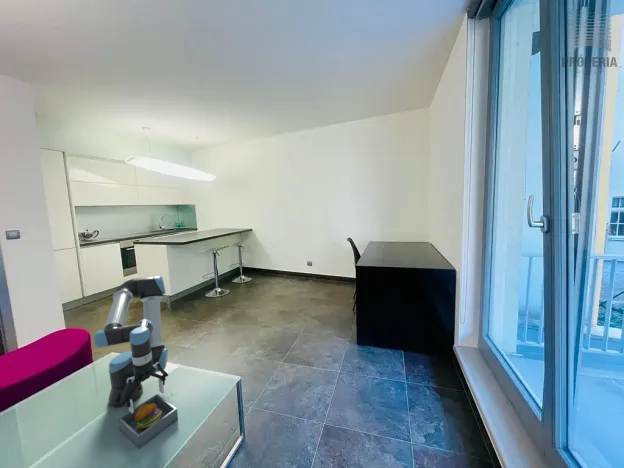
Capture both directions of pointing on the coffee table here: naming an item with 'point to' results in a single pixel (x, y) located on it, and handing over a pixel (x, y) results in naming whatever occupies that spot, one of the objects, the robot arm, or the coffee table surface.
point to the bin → (143, 437)
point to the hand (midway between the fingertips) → (147, 401)
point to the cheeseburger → (147, 416)
